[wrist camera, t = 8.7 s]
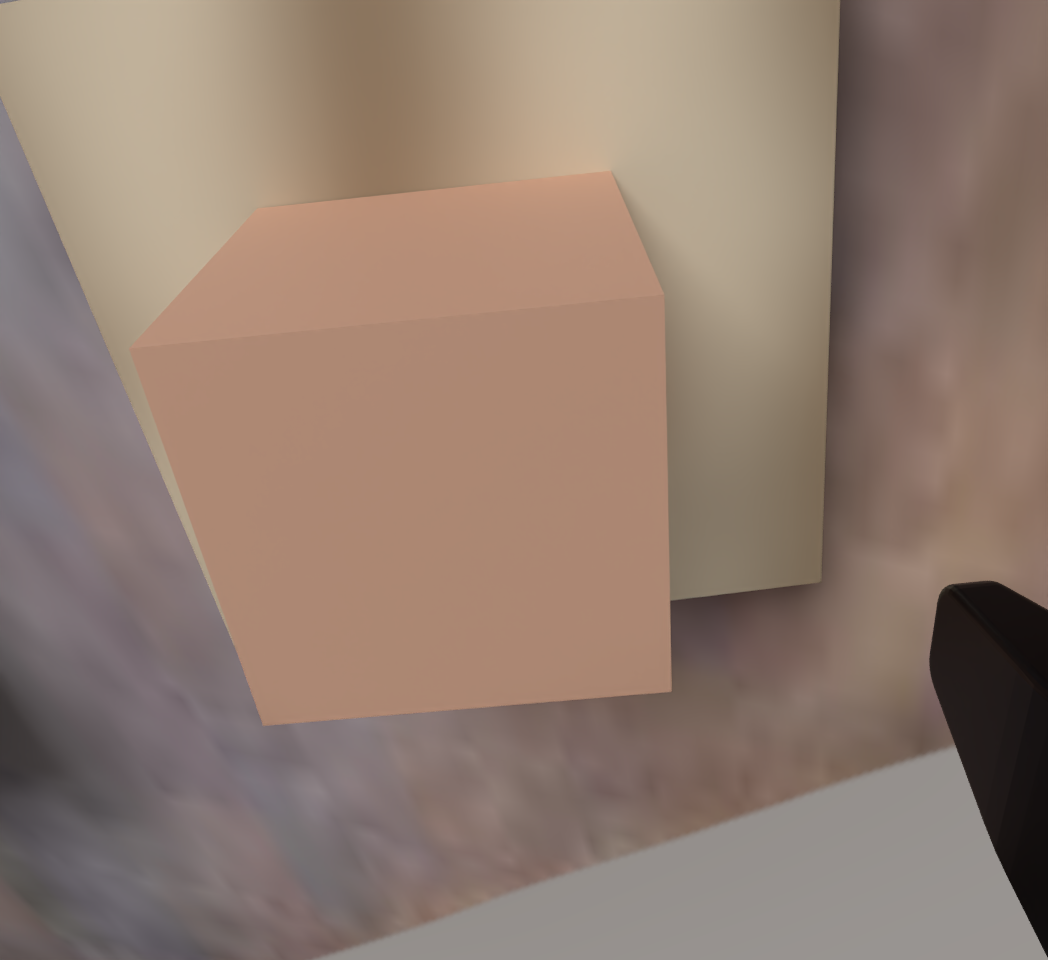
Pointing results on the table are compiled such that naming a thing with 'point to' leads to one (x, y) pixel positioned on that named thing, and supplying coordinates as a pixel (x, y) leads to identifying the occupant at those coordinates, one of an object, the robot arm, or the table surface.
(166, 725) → the table surface
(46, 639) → the table surface
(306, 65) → the plinth
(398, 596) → the terracotta cube
